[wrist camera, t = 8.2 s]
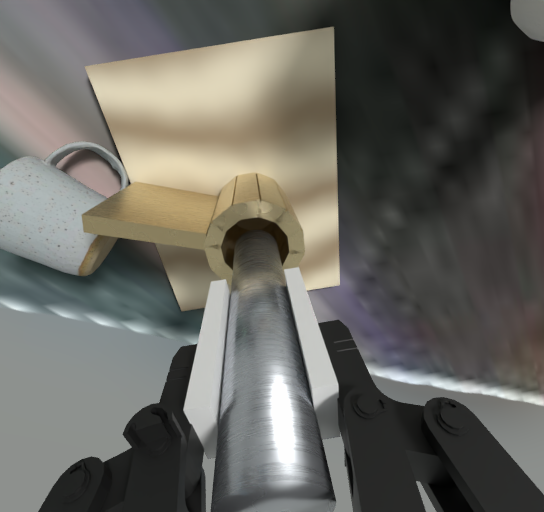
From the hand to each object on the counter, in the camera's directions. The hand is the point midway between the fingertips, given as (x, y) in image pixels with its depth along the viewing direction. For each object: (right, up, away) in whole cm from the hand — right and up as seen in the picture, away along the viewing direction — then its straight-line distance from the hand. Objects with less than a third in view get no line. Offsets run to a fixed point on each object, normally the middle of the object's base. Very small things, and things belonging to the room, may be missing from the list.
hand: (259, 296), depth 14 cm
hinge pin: (0, +3, +5) cm, 6 cm away
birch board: (-2, +8, +13) cm, 15 cm away
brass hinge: (-4, +3, +14) cm, 15 cm away
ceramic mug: (-17, +8, +12) cm, 22 cm away
